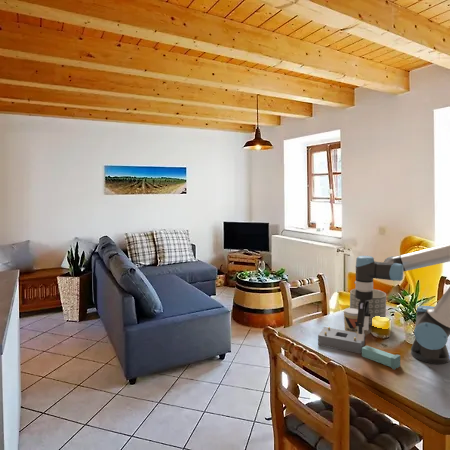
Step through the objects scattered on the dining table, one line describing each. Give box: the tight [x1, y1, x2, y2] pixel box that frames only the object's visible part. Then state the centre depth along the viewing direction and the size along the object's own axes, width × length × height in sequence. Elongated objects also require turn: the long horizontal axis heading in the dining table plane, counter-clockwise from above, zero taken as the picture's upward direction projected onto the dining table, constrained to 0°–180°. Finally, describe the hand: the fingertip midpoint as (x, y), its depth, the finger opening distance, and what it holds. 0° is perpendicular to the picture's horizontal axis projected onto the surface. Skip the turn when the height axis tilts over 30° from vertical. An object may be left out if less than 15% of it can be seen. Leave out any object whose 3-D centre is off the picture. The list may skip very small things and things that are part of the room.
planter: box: [349, 288, 387, 327], centre depth 202 cm, size 19×19×18 cm
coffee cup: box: [343, 307, 361, 333], centre depth 190 cm, size 9×9×12 cm
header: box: [317, 326, 366, 355], centre depth 176 cm, size 20×12×6 cm, turn 60°
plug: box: [361, 345, 401, 370], centre depth 158 cm, size 5×5×16 cm
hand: (362, 334), depth 164 cm, fingers open, 13 cm apart
